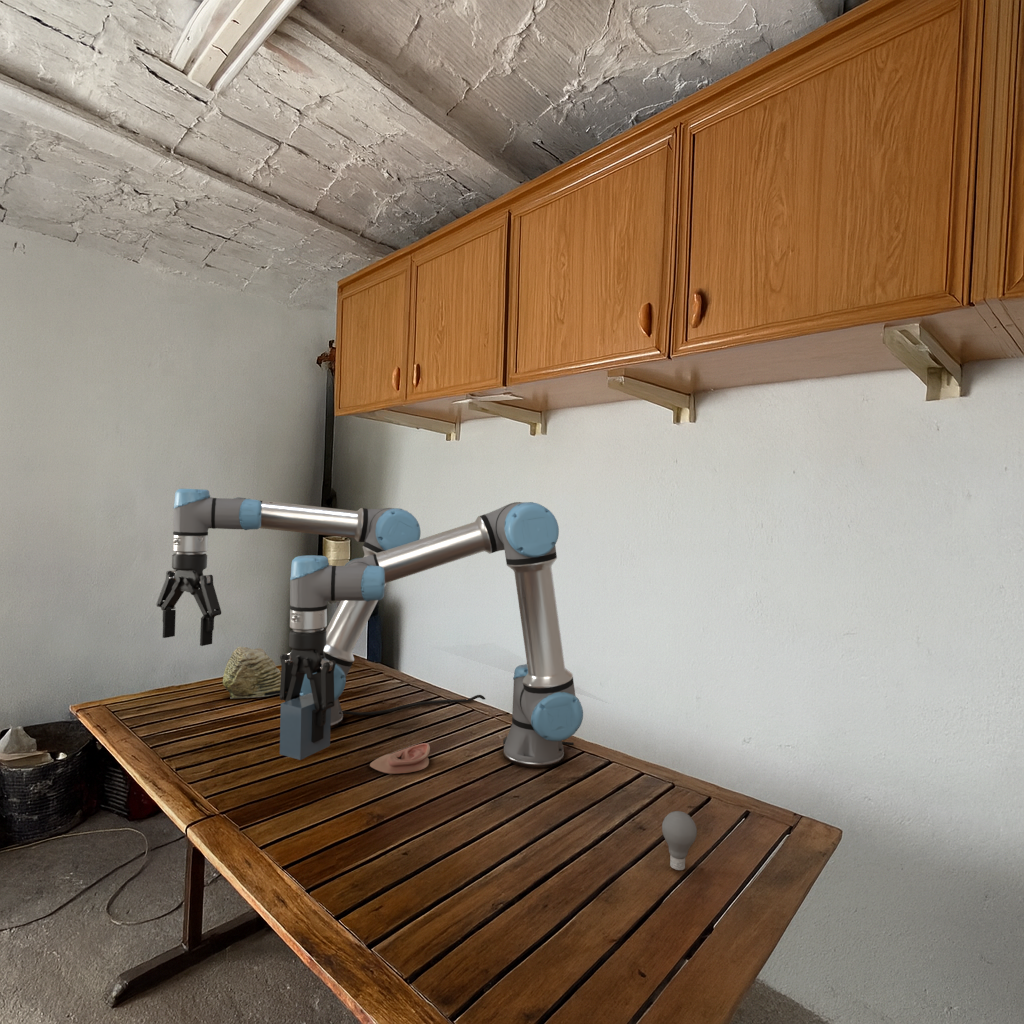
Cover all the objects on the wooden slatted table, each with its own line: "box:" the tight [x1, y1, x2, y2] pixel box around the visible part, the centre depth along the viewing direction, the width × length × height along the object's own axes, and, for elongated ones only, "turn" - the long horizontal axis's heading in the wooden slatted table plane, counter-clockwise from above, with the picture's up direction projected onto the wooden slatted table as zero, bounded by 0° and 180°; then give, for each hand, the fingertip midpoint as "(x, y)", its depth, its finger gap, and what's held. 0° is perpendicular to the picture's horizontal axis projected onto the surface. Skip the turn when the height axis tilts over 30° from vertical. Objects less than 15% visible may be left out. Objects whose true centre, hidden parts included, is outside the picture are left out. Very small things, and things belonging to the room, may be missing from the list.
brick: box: [279, 693, 331, 761], centre depth 135 cm, size 9×6×11 cm, turn 153°
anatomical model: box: [369, 742, 431, 775], centre depth 151 cm, size 13×4×12 cm
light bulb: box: [661, 810, 698, 871], centre depth 113 cm, size 6×6×10 cm
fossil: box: [222, 646, 281, 699], centre depth 198 cm, size 9×18×15 cm, turn 132°
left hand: (187, 640), depth 153 cm, fingers open, 13 cm apart
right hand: (305, 736), depth 135 cm, fingers closed on brick, 6 cm apart
